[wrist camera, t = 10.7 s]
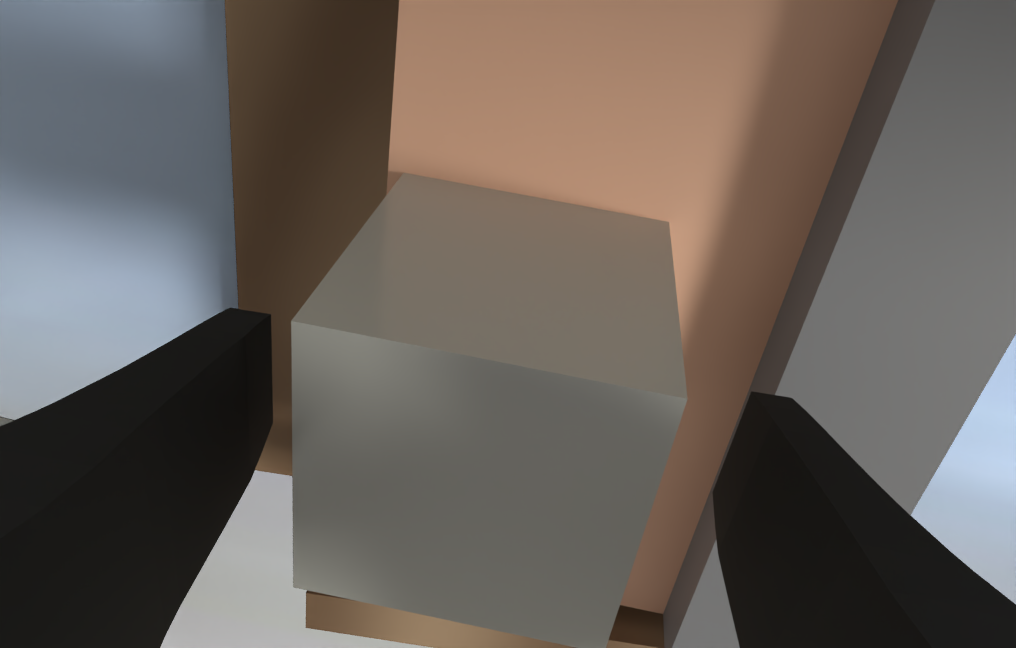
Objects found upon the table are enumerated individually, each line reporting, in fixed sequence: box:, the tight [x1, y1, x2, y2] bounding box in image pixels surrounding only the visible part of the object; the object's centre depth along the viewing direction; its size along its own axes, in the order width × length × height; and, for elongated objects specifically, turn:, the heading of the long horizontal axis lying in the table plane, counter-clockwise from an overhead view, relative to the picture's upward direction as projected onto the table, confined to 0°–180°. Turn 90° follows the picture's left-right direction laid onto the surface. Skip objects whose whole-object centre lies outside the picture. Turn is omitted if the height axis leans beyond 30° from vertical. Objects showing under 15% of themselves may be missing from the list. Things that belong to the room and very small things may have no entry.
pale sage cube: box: [291, 173, 688, 648], centre depth 12 cm, size 4×4×5 cm
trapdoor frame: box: [225, 0, 664, 648], centre depth 16 cm, size 18×19×6 cm
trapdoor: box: [386, 0, 1016, 648], centre depth 14 cm, size 10×14×3 cm
